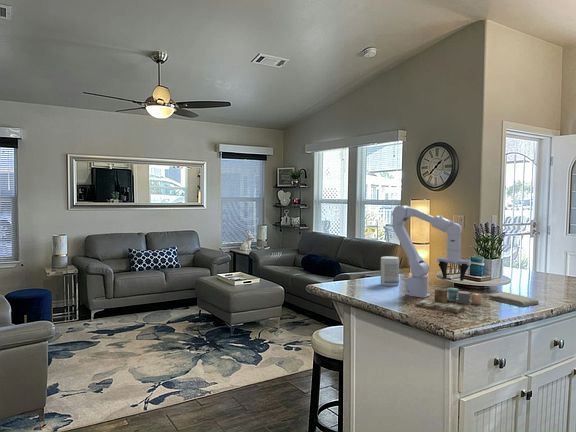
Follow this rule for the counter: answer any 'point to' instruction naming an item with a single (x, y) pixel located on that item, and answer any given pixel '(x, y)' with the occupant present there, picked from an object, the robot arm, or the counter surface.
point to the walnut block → (441, 295)
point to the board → (440, 306)
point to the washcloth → (513, 299)
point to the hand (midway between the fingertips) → (453, 279)
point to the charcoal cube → (463, 297)
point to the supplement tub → (390, 271)
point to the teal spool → (452, 294)
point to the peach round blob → (476, 298)
